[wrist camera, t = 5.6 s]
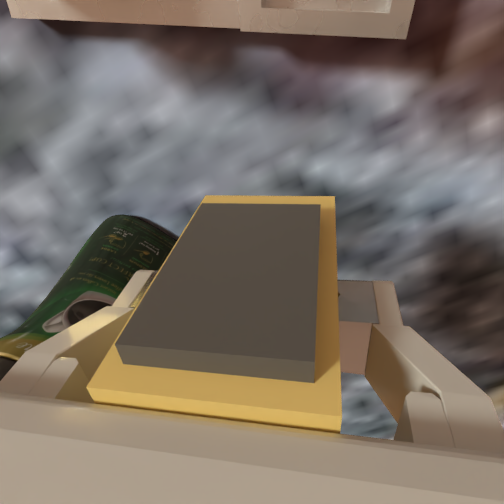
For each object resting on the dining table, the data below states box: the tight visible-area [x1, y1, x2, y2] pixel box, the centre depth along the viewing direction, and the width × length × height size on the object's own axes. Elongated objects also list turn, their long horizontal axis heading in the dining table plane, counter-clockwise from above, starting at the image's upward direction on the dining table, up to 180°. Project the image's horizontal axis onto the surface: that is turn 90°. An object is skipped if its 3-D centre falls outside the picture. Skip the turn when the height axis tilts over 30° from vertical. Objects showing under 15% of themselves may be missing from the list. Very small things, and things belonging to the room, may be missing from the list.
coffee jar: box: [0, 215, 176, 381], centre depth 25 cm, size 10×8×19 cm
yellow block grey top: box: [86, 195, 342, 434], centre depth 9 cm, size 4×4×7 cm
